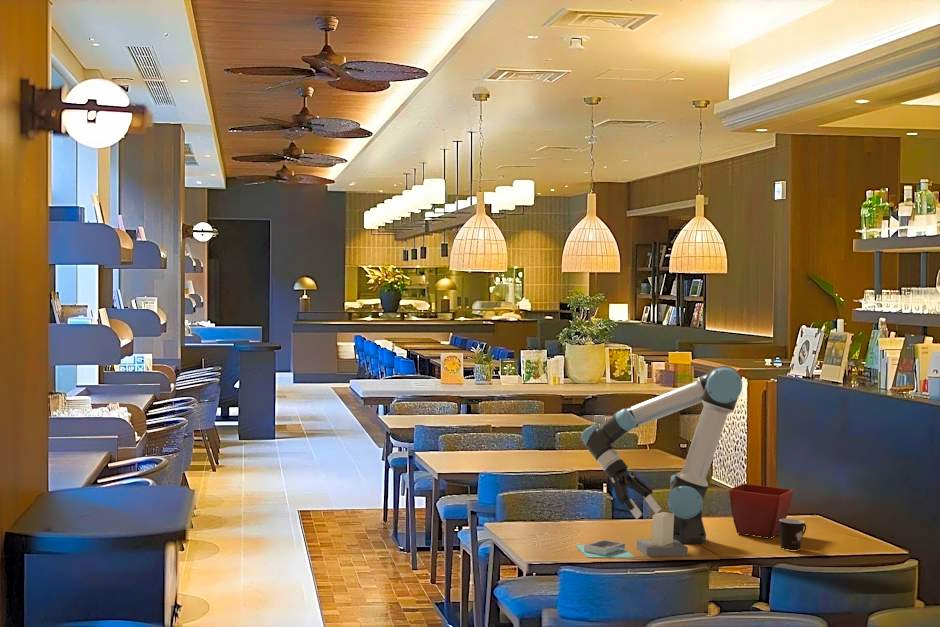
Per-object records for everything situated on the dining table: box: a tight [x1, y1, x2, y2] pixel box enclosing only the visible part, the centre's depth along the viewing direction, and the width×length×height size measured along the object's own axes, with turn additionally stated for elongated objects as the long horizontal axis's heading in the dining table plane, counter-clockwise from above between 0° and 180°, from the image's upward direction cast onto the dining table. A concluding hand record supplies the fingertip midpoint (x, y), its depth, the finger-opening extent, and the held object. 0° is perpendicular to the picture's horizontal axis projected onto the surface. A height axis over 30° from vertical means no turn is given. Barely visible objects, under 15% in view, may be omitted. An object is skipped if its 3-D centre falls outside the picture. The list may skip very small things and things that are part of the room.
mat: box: [574, 544, 636, 559], centre depth 403 cm, size 18×16×1 cm
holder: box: [583, 539, 626, 556], centre depth 403 cm, size 8×12×2 cm
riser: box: [636, 539, 689, 557], centre depth 406 cm, size 12×14×3 cm
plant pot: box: [728, 483, 794, 538], centre depth 443 cm, size 19×19×17 cm
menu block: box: [650, 511, 674, 546], centre depth 406 cm, size 4×8×10 cm, turn 143°
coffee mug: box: [779, 518, 807, 550], centre depth 419 cm, size 12×9×10 cm
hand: (649, 514), depth 409 cm, fingers open, 13 cm apart
